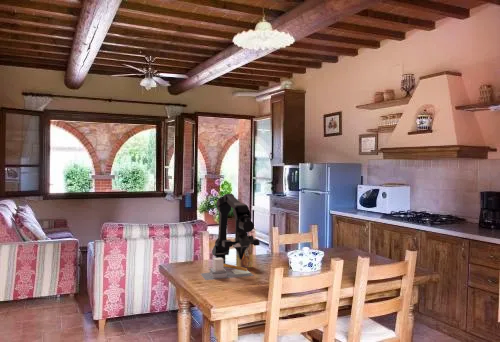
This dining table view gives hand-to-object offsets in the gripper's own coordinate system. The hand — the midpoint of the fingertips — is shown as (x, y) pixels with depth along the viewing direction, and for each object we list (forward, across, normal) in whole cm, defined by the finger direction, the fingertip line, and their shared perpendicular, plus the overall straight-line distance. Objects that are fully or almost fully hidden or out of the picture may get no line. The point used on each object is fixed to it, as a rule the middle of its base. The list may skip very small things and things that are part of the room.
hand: (240, 259), depth 220 cm
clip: (+6, -2, +7) cm, 9 cm away
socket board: (+10, -5, +8) cm, 14 cm away
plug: (+9, -10, +7) cm, 16 cm away
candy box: (+10, +10, +24) cm, 28 cm away
